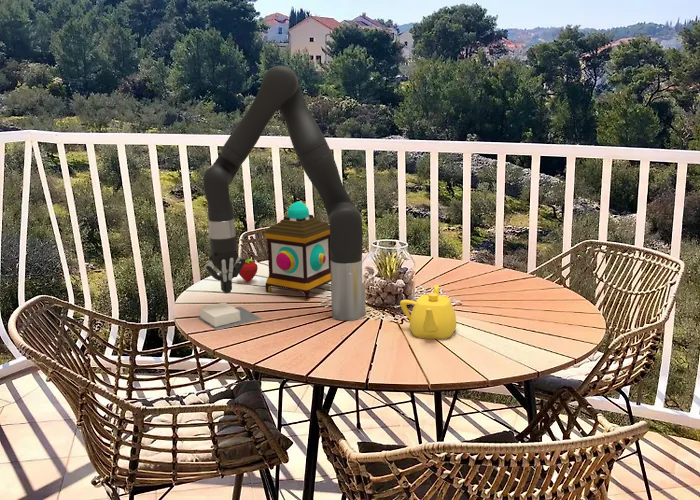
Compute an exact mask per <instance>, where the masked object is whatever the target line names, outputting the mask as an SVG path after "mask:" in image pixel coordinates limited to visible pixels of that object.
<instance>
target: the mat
mask: <svg viewBox="0 0 700 500" xmlns="http://www.w3.org/2000/svg"><path fill="white" fill-rule="evenodd" d="M234 308H235V309H237V310H239V311H240V321H239V322H235V323H231V324H227V325H223V326H219V327H214V326H213V325H211V324H210V323H208V322H206V321H205V320H203V319H202V318H200V315H199V316H196V318H197V319H198V320H200V321H202V322H203V323H205V324H206V325H208V326H210V327H211V328H213V329H214V330H216V331H221V330H223V329H228V328H231V327H235V326H239V325H244V324H248V323H251V322H256V321H259V320H263V318H262V317H260V316H258V315H256V314H255V313H253V312H251V311H249V310H247V309H245V308H244V307H242V306H237V307H234Z"/></svg>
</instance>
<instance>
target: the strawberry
mask: <svg viewBox="0 0 700 500" xmlns="http://www.w3.org/2000/svg"><path fill="white" fill-rule="evenodd" d="M245 260H246V262H245V264H244V265H243V267H242V269H241V271H240V272H239V274H238V275H239V276H240V277H241V279H243V281H244V282H245V283H247V284H248V283H249V284H250V282H251V281H252V280H253V279H254V277H255V276H256V275H257V273H258V269H259V268H258V264H257V263H256V262H255V260H254V259H252V258H247V259H245Z"/></svg>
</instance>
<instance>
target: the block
mask: <svg viewBox="0 0 700 500" xmlns="http://www.w3.org/2000/svg"><path fill="white" fill-rule="evenodd" d="M235 308H236V307H233V306H232V305H230V304H228V303H227V302H220V303H216V304H215V303H214V304H211V305H206V306H202V307H199V316H200V318H202V319H203V320H205V321H206V322H208V323H210V324H211V325H213V326H214V327H219V326H223V325H227V324H231V323H235V322H239V321H240V311H239V310H237V309H235Z"/></svg>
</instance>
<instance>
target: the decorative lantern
mask: <svg viewBox="0 0 700 500" xmlns="http://www.w3.org/2000/svg"><path fill="white" fill-rule="evenodd" d="M263 235H264V237H265V239H266V242H267V260H268V261H267V263H268V276H267V279H266V281H265V288H264V289H265V292H266V293H271V292H272V287H274V288H280V289H285V290H291V291H296V292H301V293H303V294H304V295H303V296H304V299H305V301H308V300H310V294H311V292H312V291H314V290H316V289H318V288H320V287H323V286H324V285H326V284H329V283H331V261H330V223H329V222H327V221H321V220H320V219H318V218H317V217H314V215H313V214H310V211H309V207H308V206H307V205H305V204H304V203H303V202H301V201H295V202H293V203H292V204H290V206H289V207H288V209H287V215H285V216H283V219H281V220H280V221H279V222H277V223H276V224H272V225H270V226H269V227H268V228H266V229H265V231H264V232H263Z"/></svg>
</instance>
